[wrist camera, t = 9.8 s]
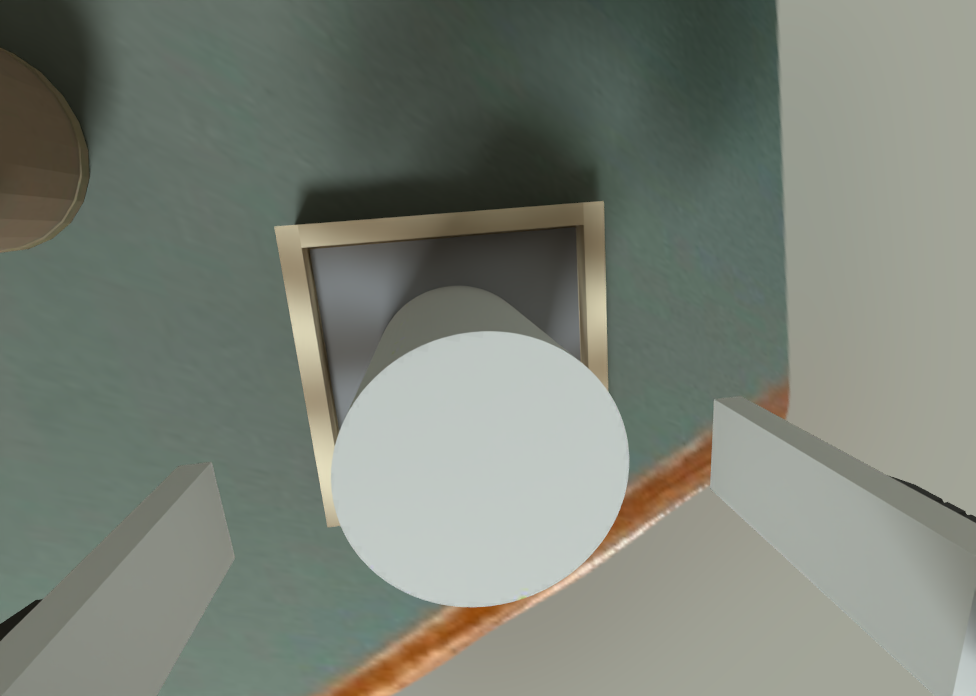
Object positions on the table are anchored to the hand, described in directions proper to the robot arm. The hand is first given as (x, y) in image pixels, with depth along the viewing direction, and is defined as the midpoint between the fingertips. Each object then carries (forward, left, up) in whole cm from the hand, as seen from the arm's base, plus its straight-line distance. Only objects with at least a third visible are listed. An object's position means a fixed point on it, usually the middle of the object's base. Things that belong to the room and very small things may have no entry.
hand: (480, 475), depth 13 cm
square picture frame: (0, 0, -15) cm, 15 cm away
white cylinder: (0, 0, -13) cm, 13 cm away
